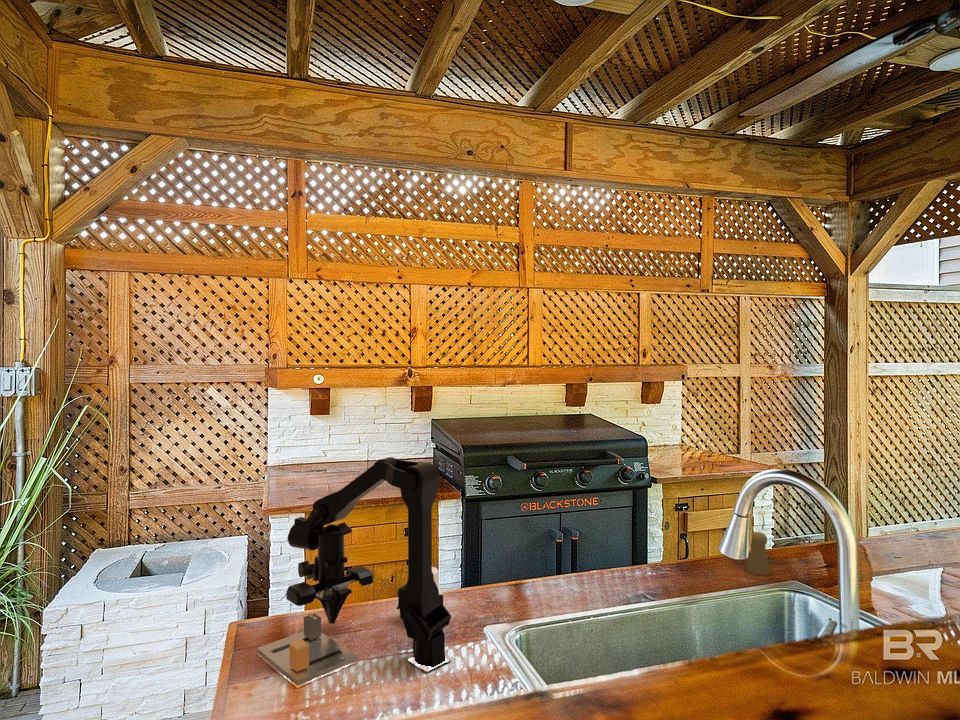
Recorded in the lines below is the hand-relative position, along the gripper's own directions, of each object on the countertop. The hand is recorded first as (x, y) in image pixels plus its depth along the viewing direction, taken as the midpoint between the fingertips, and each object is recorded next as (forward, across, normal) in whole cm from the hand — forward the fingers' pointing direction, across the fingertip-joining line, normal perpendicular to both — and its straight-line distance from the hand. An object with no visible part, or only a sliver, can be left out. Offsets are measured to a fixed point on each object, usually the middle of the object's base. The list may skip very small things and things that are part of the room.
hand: (331, 623), depth 127 cm
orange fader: (+1, +13, +10) cm, 16 cm away
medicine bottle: (+3, -20, +8) cm, 22 cm away
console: (+3, +9, +5) cm, 10 cm away
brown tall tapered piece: (+3, -106, +52) cm, 118 cm away
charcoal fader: (+1, +5, 0) cm, 5 cm away
